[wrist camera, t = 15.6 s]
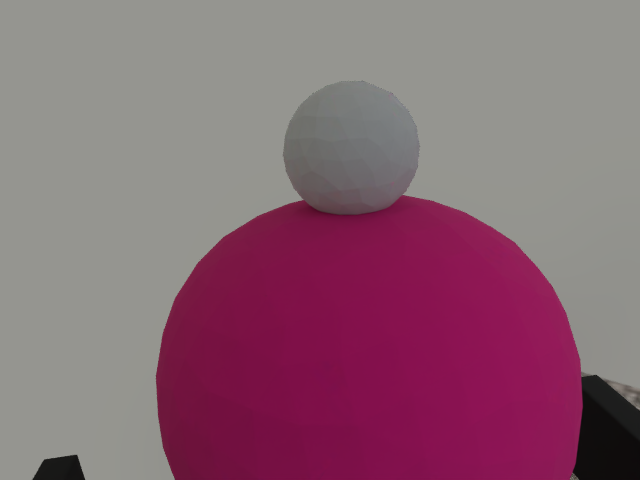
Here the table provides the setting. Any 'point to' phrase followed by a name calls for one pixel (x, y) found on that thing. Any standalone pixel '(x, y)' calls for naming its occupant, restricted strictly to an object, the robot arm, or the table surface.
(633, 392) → the table surface
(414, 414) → the pepper mill
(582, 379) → the robot arm
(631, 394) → the table surface
